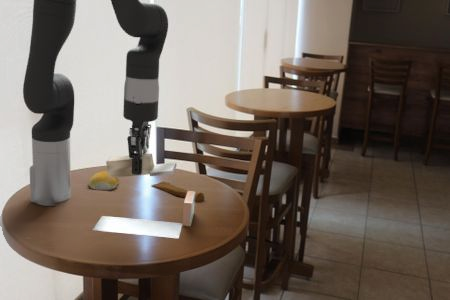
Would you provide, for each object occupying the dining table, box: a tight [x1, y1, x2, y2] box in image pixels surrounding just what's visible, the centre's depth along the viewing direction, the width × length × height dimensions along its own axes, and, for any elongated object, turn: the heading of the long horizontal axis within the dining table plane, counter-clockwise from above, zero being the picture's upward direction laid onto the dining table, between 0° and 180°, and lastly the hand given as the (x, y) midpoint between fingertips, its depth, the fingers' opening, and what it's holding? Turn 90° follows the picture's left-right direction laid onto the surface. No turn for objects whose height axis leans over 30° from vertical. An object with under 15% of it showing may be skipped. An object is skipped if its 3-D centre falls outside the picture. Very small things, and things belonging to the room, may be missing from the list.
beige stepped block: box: [105, 153, 177, 178], centre depth 107 cm, size 15×6×4 cm, turn 88°
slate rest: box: [92, 215, 183, 240], centre depth 111 cm, size 20×8×1 cm, turn 88°
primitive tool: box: [150, 181, 205, 203], centre depth 136 cm, size 19×6×4 cm, turn 50°
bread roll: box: [88, 170, 120, 191], centre depth 137 cm, size 8×9×4 cm
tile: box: [182, 190, 196, 227], centre depth 117 cm, size 2×8×7 cm, turn 178°
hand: (138, 171), depth 107 cm, fingers closed on beige stepped block, 3 cm apart
